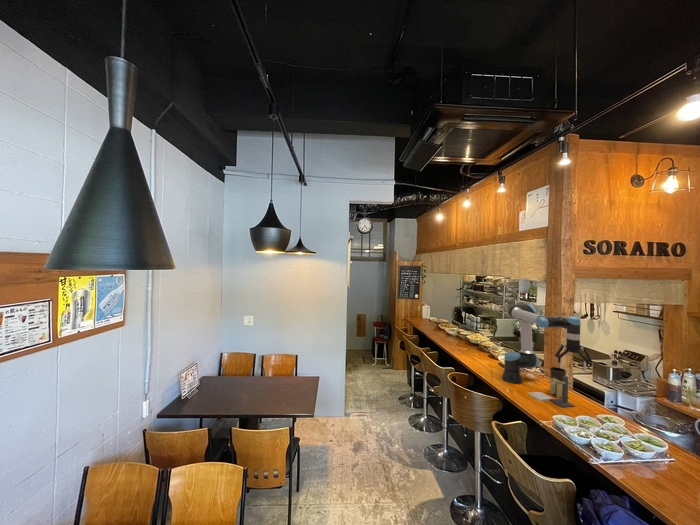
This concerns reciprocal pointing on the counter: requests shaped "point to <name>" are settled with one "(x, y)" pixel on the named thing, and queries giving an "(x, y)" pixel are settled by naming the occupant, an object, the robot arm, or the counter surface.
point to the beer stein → (557, 377)
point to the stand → (564, 401)
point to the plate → (540, 396)
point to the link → (559, 387)
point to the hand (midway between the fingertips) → (572, 369)
